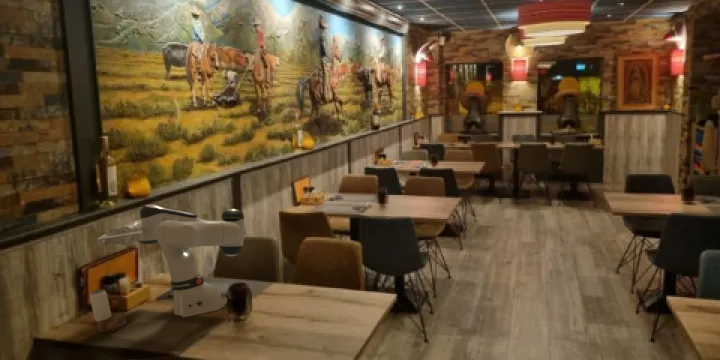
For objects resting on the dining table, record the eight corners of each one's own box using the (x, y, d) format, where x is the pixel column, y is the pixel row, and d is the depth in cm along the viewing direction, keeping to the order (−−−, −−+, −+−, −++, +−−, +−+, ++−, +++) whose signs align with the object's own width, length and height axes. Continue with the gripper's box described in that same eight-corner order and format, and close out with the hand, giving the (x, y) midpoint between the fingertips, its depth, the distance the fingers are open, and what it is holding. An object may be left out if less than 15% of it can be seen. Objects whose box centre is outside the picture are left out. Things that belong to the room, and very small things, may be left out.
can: (104, 321, 235) (98, 293, 233) (91, 322, 237) (85, 294, 235) (115, 315, 241) (109, 288, 239) (102, 315, 243) (96, 289, 241)
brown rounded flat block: (131, 319, 244) (129, 311, 244) (120, 330, 233) (118, 321, 233) (105, 323, 245) (103, 314, 244) (93, 334, 234) (91, 325, 233)
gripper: (150, 238, 265) (138, 246, 251) (107, 244, 266) (93, 253, 252) (147, 225, 264) (135, 232, 250) (104, 231, 265) (89, 239, 251)
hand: (113, 242), depth 251 cm, fingers open, 8 cm apart
